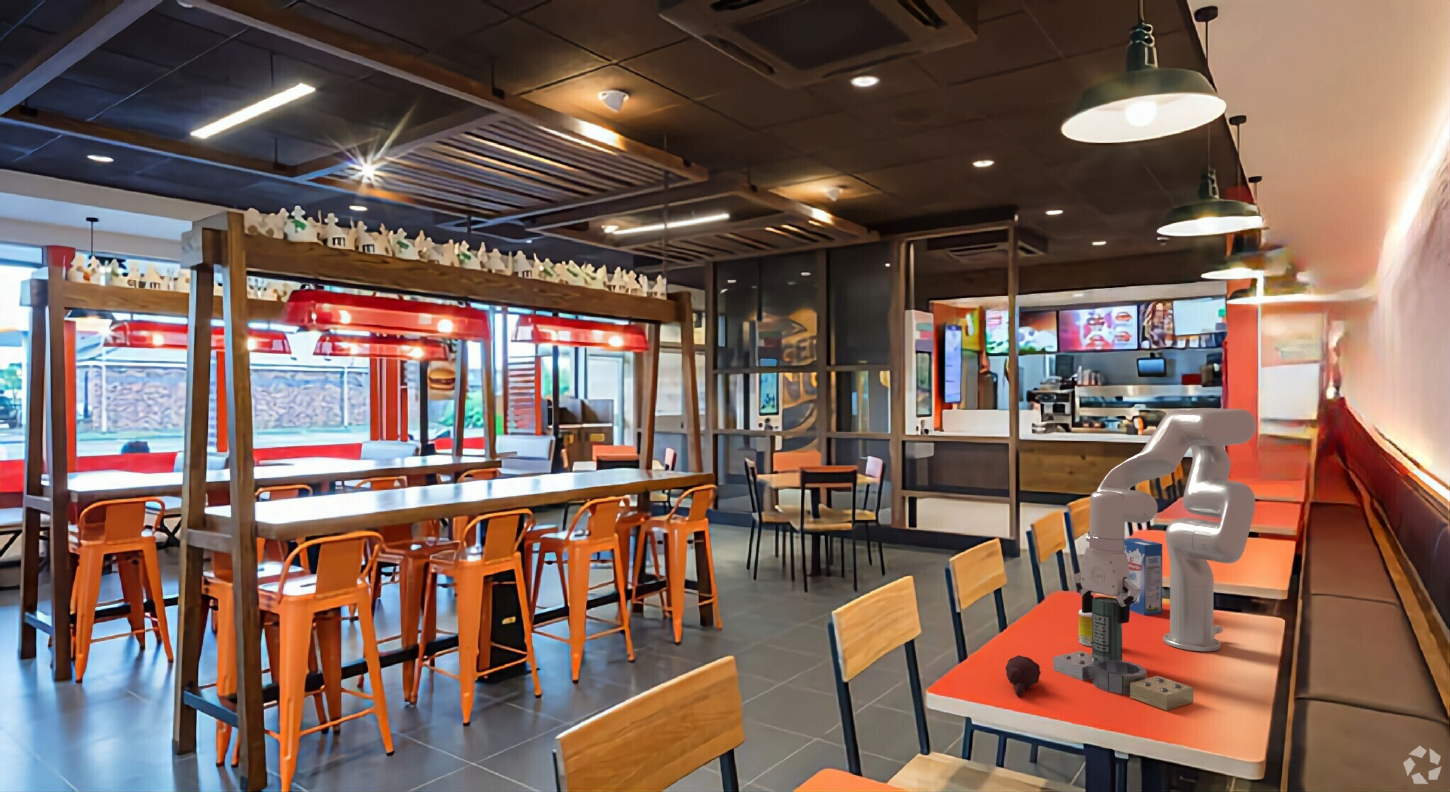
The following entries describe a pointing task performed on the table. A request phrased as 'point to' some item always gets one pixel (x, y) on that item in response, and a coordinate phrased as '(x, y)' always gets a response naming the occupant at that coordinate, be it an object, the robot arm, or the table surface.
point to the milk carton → (1145, 574)
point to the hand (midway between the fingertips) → (1104, 617)
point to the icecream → (1022, 673)
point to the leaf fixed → (1100, 671)
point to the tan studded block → (1161, 692)
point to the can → (1106, 629)
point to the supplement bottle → (1085, 628)
